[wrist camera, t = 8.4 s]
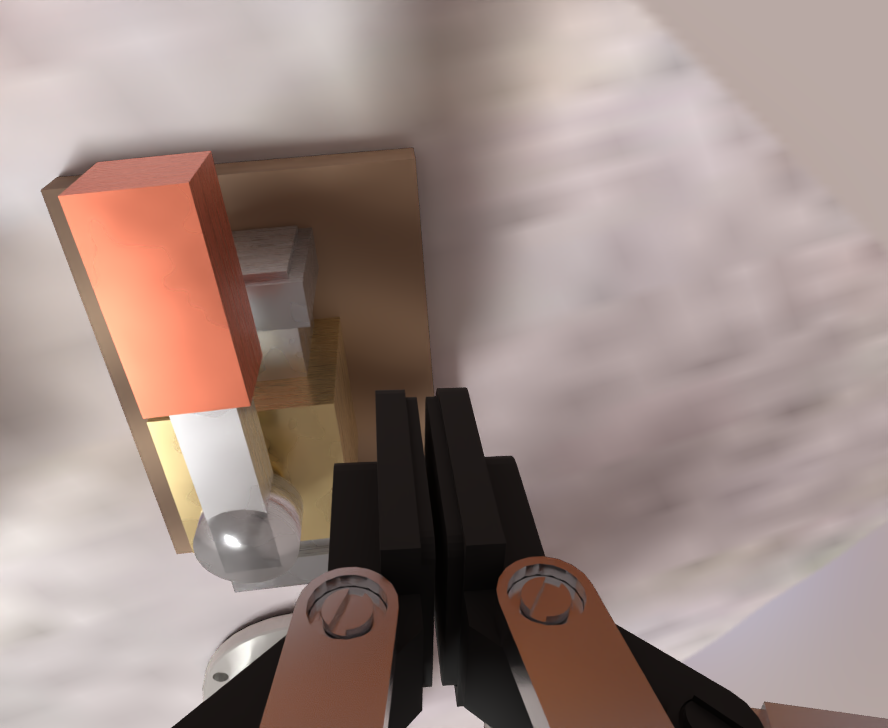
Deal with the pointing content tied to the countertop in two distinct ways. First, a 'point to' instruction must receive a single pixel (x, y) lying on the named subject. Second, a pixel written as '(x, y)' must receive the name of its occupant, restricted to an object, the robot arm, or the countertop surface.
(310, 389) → the ball valve
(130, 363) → the lever
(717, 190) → the countertop surface
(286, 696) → the robot arm
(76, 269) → the board
